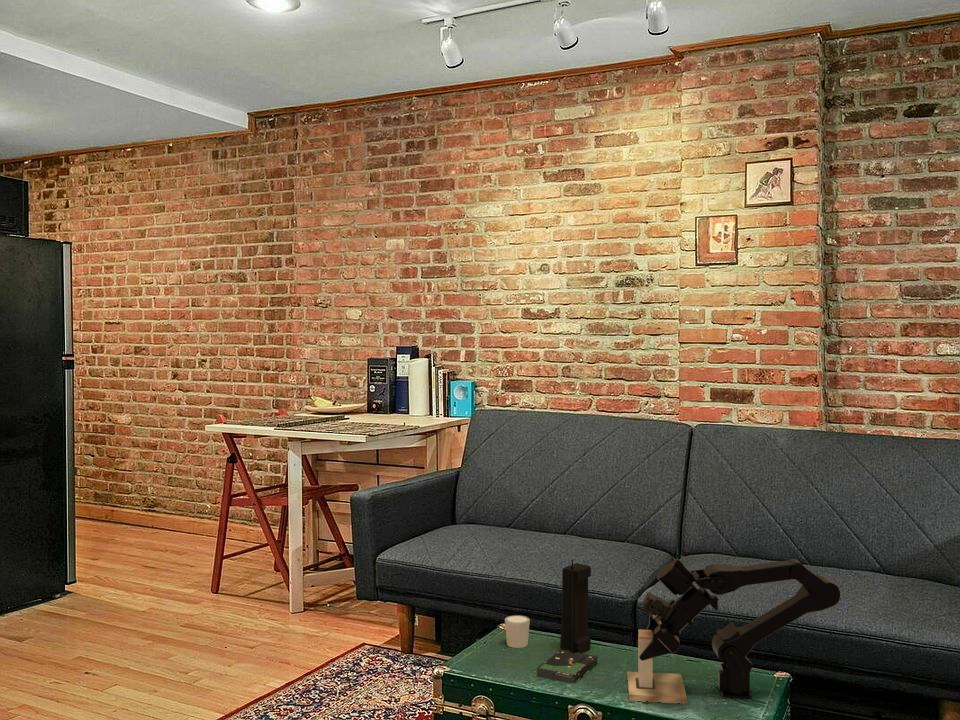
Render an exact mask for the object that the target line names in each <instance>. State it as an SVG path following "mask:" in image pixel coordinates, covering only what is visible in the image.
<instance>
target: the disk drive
mask: <svg viewBox="0 0 960 720" xmlns="http://www.w3.org/2000/svg"><path fill="white" fill-rule="evenodd" d="M596 664H597V665H598V656H597V655H592V654H588V653H578V652H577V653H571V652H570V651H568V650H563V649H562V650H561V649H560V650H558V651H557V652H556V653H555V654H553V655H552V656H550V657H549V658H548V659H547V660H545V661H543V662H542V663H541V664H540V665H538V666H537V668H536V676H537V677H539V678H544V679H548V680H554V681H557V680H558V681H557V682H562V681H563V683H567V682H569V683H568V684H571V683H575V682H576V681H577V680H578V679H579V678H581V677H582V676H583V675H584V674H585V673H586V672H587V671H588V670H590V669H591V668H592V667H593V666H595V665H596ZM597 665H596V666H597ZM596 666H595V667H596ZM591 670H592V669H591ZM591 670H590V671H591ZM585 675H586V674H585ZM585 675H584V676H585ZM584 676H583V677H584ZM583 677H582V678H583ZM582 678H581V679H582ZM579 680H580V679H579ZM579 680H578V681H579ZM578 681H577V682H578ZM577 682H576V683H577ZM576 683H575V684H576Z"/></svg>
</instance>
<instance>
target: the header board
mask: <svg viewBox="0 0 960 720" xmlns="http://www.w3.org/2000/svg"><path fill="white" fill-rule="evenodd" d="M626 673H627V675H626V677H627V679H626V680H628V681H627V688H628V689H627V691H629V692H628V700H629V702H637V701H641V702H642V701H643V703H645V702H646V701H648V702H646V703H657V702H661V703H660V704H662V703H664V704H677V703H680V704H681V703H682V705H687V703H688V701H687V700H688V699H687V694H686V693H687V692H686V689H685V685H684V681H683V677H682V676H683V675H682V674H681V673H670V672H669V673H667V672H653V681H652V688H645V687H639V681H638V671H626ZM680 704H679V705H680Z"/></svg>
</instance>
